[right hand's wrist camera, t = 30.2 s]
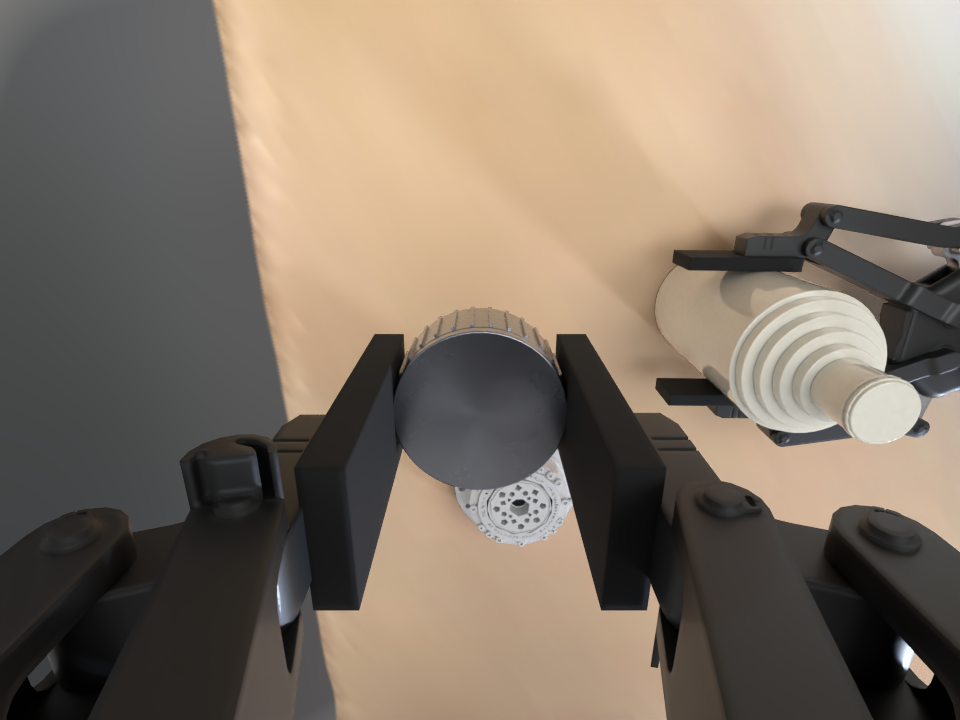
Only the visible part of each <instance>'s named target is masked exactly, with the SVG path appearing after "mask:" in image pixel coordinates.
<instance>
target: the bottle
mask: <svg viewBox="0 0 960 720" xmlns="http://www.w3.org/2000/svg"><path fill="white" fill-rule="evenodd" d="M655 317H656V322H657V325H658V328H659V330H660V332H661V334H662V335H663V336H664V338H665V339H666V340H667V341H668V342H669V343H670V344H671V345H672V346H673V347H674V348H675V349H676V350H677V351H678V352H679V353H680V354H682V355H683V356H684V357H685V358H686V359H687V360H688V361H689V362H690V363H691V364H692V365H693V366H694V367H695V368H696V369H697V370H698V371H699V372H700V373H702V374H703V375H704V376H705V377H706V378H707V379H708V380H709V381H710V382H711V383H712V384H713V385H714V386H715V387H716V388H717V389H718V390H719V391H720V392H722V393H723V394H724V395H725V396H726V397H727V398H728V399H729V400H730V401H731V402H732V403H733V404H734V405H735V406H736V407H737V408H738V409H739V410H741V411H742V412H743V413H744V414H745V415H746V416H747V417H748V418H750V419H751V420H752V421H754V422H756V423H757V424H759V425H761V426H764V427H767V428H770V429H774V430H779V431H784V432H791V433H807V432H814V431H819V430H823V429H826V428H828V427H831V426H833V425H836V424H839V425H840V426H841V427H843V428H844V430H845V431H846V432H847V433H848V434H849V435H850V436H852V437H853V438H855V439H857V440H860V441H863V442H866V443H870V444H884V443H889V442H892V441H894V440H896V439H898V438H900V437H902V436H903V435H905V434H906V433H907V432H908V431H909V430H910V429H911V428H912V427H913V426H914V424H915V423H916V421H917V420H918V417H919V415H920V411H921V400H920V397H919V395H918V393H917V391H916V390H915V388H914V387H913V385H911V384H910V383H908V382H907V381H905V380H903V379H901V378H900V377H897V376H894V375H889V374H887V373H885V372H884V371H885V366H886V361H887V344H886V339H885V336H884V333H883V330H882V329H881V327H880V325H879V323H878V322H877V321H876V319H875V317H874V315H873V314H872V313H871V312H870V310H869V309H868V308H867V307H866V306H865V305H864V304H863V303H861V302H860V301H858V300H857V299H855V298H854V297H851V296H849V295H847V294H844V293H842V292H839V291H836V290H833V289H830V288H828V287H825V286H822V285H819V284H816V283H814V282H811V281H808V280H805V279H802V278H800V277H797V276H794V275H791V274H788V273H786V272H769V271H689V270H686V269H684V268H682V267H681V266H679V265H677V266H676V267H675V268H674V269H673V270H672V271H671V272H670V273H669V274H668V275H667V277H666V278H665V280H664V281H663V283H662V285H661V287H660V289H659V292H658V294H657V298H656V303H655Z"/></svg>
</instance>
